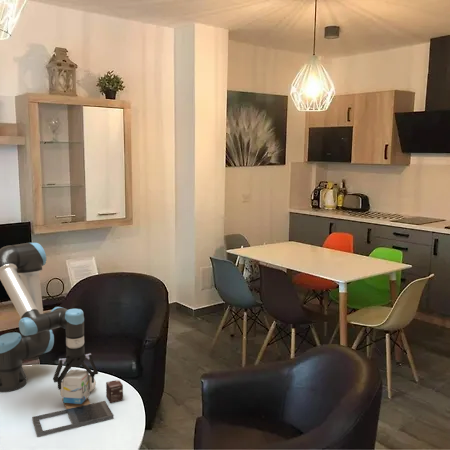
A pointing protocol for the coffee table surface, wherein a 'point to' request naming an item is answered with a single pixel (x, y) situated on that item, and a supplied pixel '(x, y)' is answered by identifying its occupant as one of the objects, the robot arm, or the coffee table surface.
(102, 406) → the grey flat frame
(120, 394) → the box
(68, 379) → the ink box
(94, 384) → the ornament
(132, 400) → the coffee table surface
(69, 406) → the pad
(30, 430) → the coffee table surface
